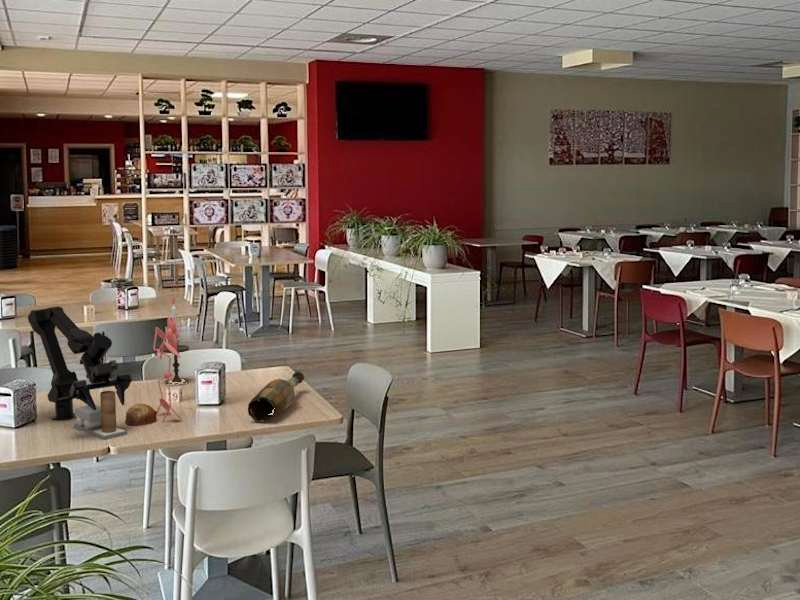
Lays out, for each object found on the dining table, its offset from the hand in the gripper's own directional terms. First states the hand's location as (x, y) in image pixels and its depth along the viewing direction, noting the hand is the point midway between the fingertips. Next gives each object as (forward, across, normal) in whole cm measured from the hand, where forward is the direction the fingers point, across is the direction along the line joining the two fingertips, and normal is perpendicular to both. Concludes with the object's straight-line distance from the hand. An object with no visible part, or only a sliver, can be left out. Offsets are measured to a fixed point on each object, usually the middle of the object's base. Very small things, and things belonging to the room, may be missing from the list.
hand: (109, 407), depth 274 cm
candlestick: (-30, +48, +43) cm, 71 cm away
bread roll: (0, +14, +13) cm, 19 cm away
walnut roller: (+5, 0, +7) cm, 8 cm away
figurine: (+2, +26, +11) cm, 29 cm away
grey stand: (+1, -1, +12) cm, 12 cm away
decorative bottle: (+11, +60, +2) cm, 61 cm away
